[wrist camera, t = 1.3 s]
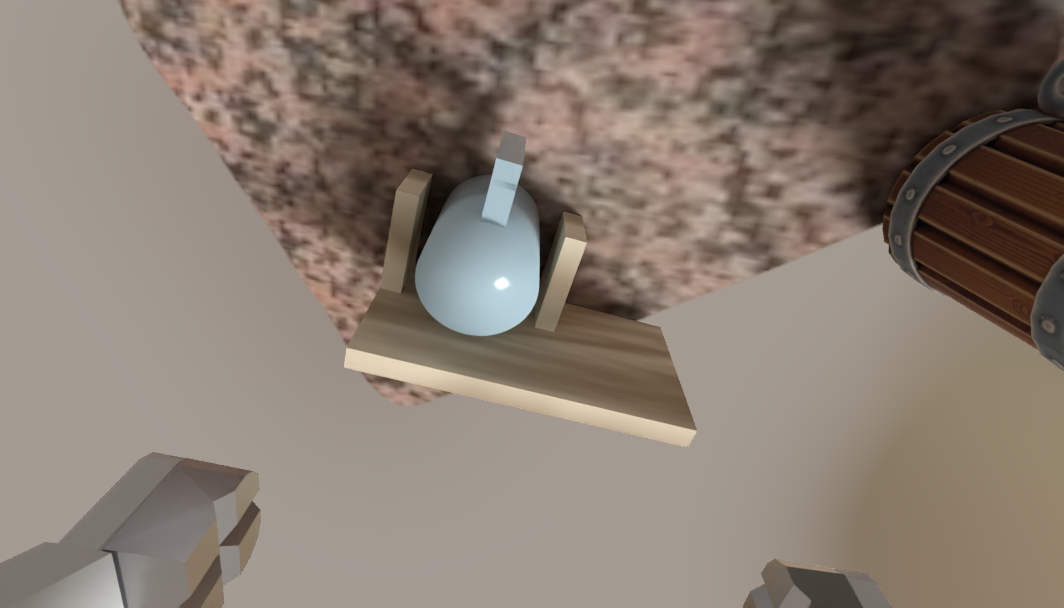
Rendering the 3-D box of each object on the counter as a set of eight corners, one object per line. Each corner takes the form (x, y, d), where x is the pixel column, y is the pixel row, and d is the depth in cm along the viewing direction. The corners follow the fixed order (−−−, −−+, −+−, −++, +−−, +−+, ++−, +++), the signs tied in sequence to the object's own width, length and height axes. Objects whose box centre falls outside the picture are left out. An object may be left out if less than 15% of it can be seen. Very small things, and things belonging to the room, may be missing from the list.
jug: (464, 110, 30) (440, 145, 23) (567, 141, 30) (575, 184, 23) (433, 253, 34) (405, 319, 27) (524, 277, 35) (520, 347, 28)
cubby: (412, 168, 31) (362, 234, 23) (697, 249, 33) (752, 337, 25) (393, 274, 35) (343, 367, 26) (653, 341, 37) (687, 447, 28)
